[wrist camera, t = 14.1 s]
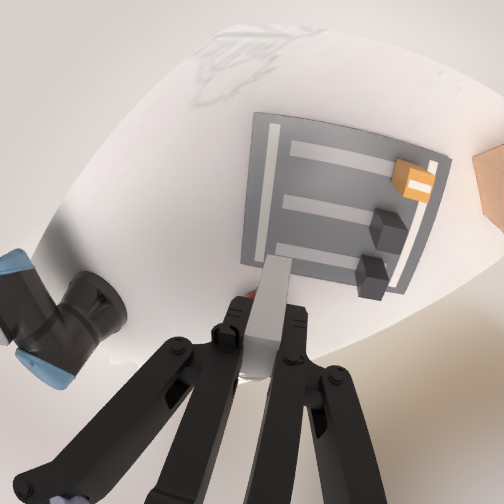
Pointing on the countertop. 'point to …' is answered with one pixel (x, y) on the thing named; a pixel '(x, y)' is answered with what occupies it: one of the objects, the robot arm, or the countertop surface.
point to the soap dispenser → (491, 184)
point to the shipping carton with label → (412, 181)
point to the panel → (336, 203)
